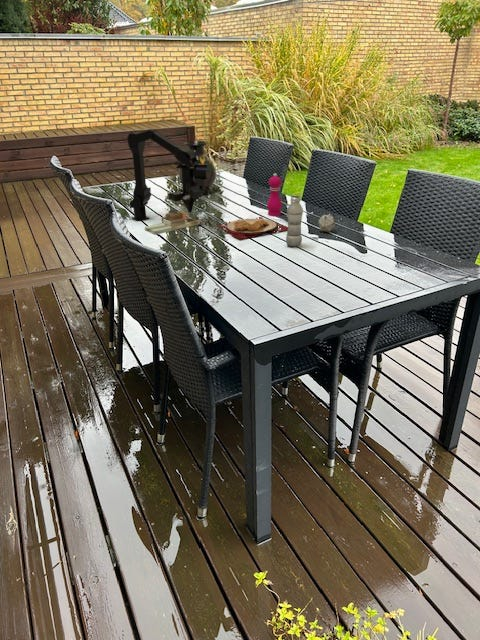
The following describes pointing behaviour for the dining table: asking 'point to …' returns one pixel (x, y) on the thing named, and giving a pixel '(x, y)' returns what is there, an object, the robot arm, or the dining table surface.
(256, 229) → the plate with food
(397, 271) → the dining table surface
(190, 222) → the deck
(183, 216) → the sled
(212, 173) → the amphora vase
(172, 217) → the block
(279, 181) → the pepper mill
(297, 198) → the plastic bottle
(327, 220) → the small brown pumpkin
